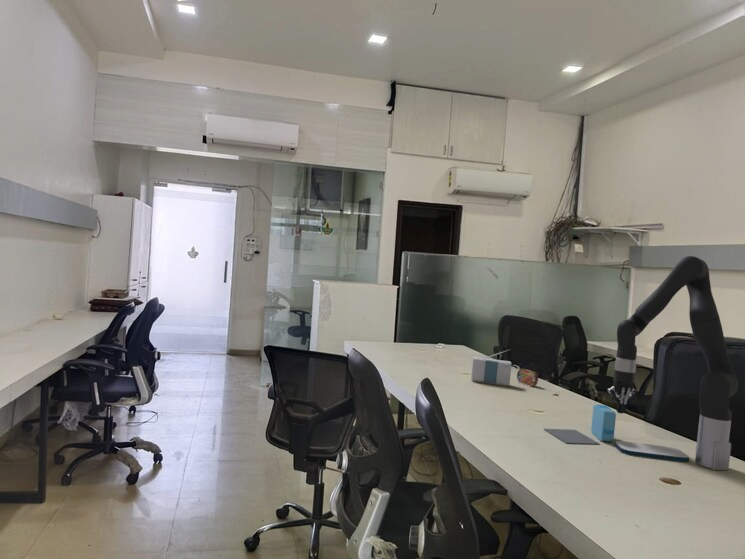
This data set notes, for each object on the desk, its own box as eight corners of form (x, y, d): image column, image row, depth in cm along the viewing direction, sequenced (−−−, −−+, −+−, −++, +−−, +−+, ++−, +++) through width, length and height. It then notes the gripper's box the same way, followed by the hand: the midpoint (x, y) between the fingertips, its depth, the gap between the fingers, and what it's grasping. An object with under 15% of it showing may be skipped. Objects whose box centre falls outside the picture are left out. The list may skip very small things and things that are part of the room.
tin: (516, 381, 304) (517, 367, 304) (520, 381, 305) (521, 367, 305) (534, 387, 290) (535, 372, 290) (538, 387, 291) (539, 372, 291)
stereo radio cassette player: (470, 381, 291) (474, 346, 291) (472, 379, 299) (475, 344, 299) (509, 387, 285) (512, 351, 285) (509, 384, 293) (513, 349, 293)
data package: (613, 443, 199) (616, 412, 199) (601, 442, 199) (604, 411, 199) (602, 433, 211) (605, 404, 211) (590, 432, 211) (593, 403, 211)
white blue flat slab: (622, 455, 187) (623, 450, 187) (611, 445, 198) (612, 439, 198) (692, 464, 184) (692, 458, 184) (677, 453, 196) (677, 447, 196)
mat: (599, 444, 196) (599, 443, 196) (566, 443, 193) (566, 442, 193) (575, 430, 212) (575, 429, 212) (543, 429, 209) (543, 428, 209)
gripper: (616, 370, 201) (611, 415, 202) (646, 372, 204) (641, 416, 204) (604, 366, 209) (599, 409, 209) (633, 368, 211) (628, 410, 212)
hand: (620, 412), depth 207 cm, fingers closed
